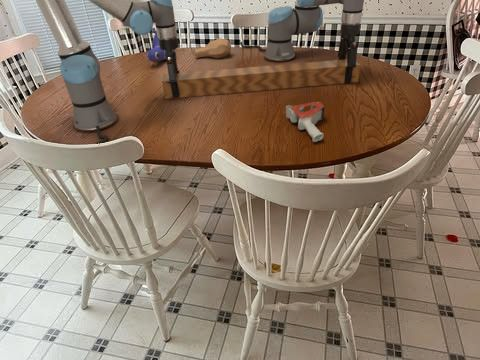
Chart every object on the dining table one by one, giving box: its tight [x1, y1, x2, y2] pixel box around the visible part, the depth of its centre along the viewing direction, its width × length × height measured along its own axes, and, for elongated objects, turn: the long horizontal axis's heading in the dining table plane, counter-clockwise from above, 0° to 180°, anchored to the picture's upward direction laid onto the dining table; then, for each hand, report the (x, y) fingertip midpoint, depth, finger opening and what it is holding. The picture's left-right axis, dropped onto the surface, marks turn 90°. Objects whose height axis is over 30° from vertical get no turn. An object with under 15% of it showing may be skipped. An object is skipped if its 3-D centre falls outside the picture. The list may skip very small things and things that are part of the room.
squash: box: [194, 37, 232, 59], centre depth 188 cm, size 11×20×9 cm, turn 92°
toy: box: [146, 30, 166, 67], centre depth 185 cm, size 10×17×25 cm
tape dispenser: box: [285, 100, 325, 143], centre depth 121 cm, size 18×5×20 cm
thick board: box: [161, 58, 361, 100], centre depth 151 cm, size 82×8×8 cm, turn 95°
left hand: (176, 93), depth 151 cm, fingers closed on thick board, 8 cm apart
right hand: (344, 78), depth 155 cm, fingers closed on thick board, 8 cm apart
